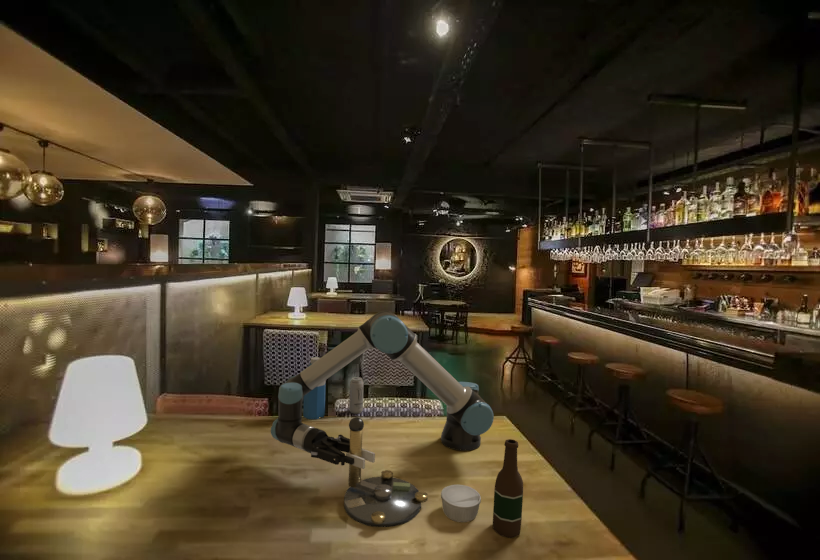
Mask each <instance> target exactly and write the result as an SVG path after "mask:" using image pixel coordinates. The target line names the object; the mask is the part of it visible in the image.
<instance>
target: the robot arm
mask: <svg viewBox="0 0 820 560" xmlns="http://www.w3.org/2000/svg"><path fill="white" fill-rule="evenodd" d="M370 349H372V350H373V349H377V350H379V351H380V352H382V353H384V354H385V355H386V356H387V357H388V358H389V359H390V360H392V361H399V362H400V363H401V364H402V365H403V366H404V367H406V368H407V370H409V371H410V372H411V373H412V374H413V375H414V376H415V377H416V378H418V380H419V381H420V382H422V384H423V385H424V386H426V388H427V389H429V390H430V391H431V392H432V394H434V395H435V396H436V397H437V398H438V399H439V400H440V401H442V403H444V404H445V405H446V421H445V424H444V426H443V428H442V432H441V435H440V441H441V442H440V443H441V444H442V445H443V446H445V447H447V448H448V449H451V450H455V451H464V452H465V451H466V452H467V451H472V450H476V449H478V448H479V447H481V442H482V441H481V440H482V437H481V435H484V434H485V433H487V431H489V430H490V429H491V428H492V426H493V423H494V417H495V416H494V415H495V414H494V411H493V409H492V407H491V406H490V404H488V402H486V401H485V400H484V399H483V398H482V397H481V395H479V392H480V388H479V384H477V383H475V382H471V381H470V382H468V381H459V380H456V378H454V377H453V375H452V374H451V373H450V372H448V371H447V370H446V369H445V368H444V367H443V366H442V364H441V363H439V362H438V361H437V360H436V359H435V357H433V356H432V355H431V354H430V353H429V352H428V351H427V350H426V349H425V348H424V347H422V346H421V344H419V343H418V341H417V335H416V333H414V332H413V330H411V329H410V328H409V327H408V326H407V325H406V323H404V322H403V320H402V319H400V317H399V316H398V315H397V314H395V313H394V312H392V311H390V310H381V311H379V312H376V313H374V314H373V315H372V316H371V317H370V318H368V319H367V320H366V321H365V322H363V323H362V324H360V326H358V327H357V331H355V332H354V333H353V334H352V335H350V336H349V337H347V338H346V339H345V340H343V341H342V342H341V343H339V344H338V345H337V346H335V347H334V348H332V349H331V350H330V351H328V352H327V353H325V354H323V356H321V357H319V358H320V359H319V360H317V361H316V362H314V363H313V364H312V365H310V364H309V365H310V366H309V365H308V366H309V367H308V366H307V367H306V368H305V369H303V370H301V372H299V373H298V374H297V375H293V376H291V377H290V378H288V379H287V380H286V381H285V383H282V384H281V385H279V388H278V395H277V398H278V416H277V418H276V419H275V420H273V422H272V425H271V427H270V434H271V437H272V438H273V439H274V440H276V441H279V443H282V444H286V445H289V446H292V447H294V448H297V449H300V450H302V451H304V452H306V453H308V454H310V457H311V458H313V459H314V458H315V459H319V460H322V461H325V462H328V463H329V464H330V463H331V464H333V465H339V464H340V466H345V464H347V465H349V464H351V465H354V466H356V467H359V468H361V470H364V469H365V468H366V461H368V462H370V463H372V464H373V463H375V462H376V461H375V459H376V453H375V452H374V451H371V450H368V449H366V448H362V458H361V457H358V456H356V455H353V454H350V453H349V451H350V437H349V438H348V437H346V436H344V435H343V434H338V437H334V436H329V435H328V434H327V431H325V430H322V429H321V428H318V427H315V426H311V425H308V424H305V423H303V422H302V419H303V417H302V416H303V402H304V396H305V395H306V394H307V393H309V392H310V391H311V390H313V389H314V388H315V387H317V386H318V385H319V384H321V383H322V382H324V381H325V380H326V381H327V379H329V378H331V377H332V376H333V375H335V374H336V373H338V372H339V371H340V370H341V369H343V368H344V367H346V366H347V365H348V364H350V363H351V362H352V361H354V360H355V359H357V358H359V356H361V355H362V354H364V353H365V352H366V351H368V350H370Z"/></svg>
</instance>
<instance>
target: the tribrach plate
mask: <svg viewBox="0 0 820 560" xmlns="http://www.w3.org/2000/svg"><path fill="white" fill-rule="evenodd" d="M362 480H363V481H366V482H369V483H372V484H375V485H382V484H385V485H389V486H390V487H391V488H392V497H391V498H390V499H389V500H386V501H380V500H377V499H376V498H375V497H374V493H371V492H368V491H365V490H362V489H359V488H357V487H350V486H349V487H348V488H347V489H346V491H345V493H344V495H343V496H344V501H343V502H344V503H343V507H344V511H345V513H346V514H347V515H348V516H349V517H350V518H351V519H352V520H353V521H355V522H357V523H359V524H361V525H365V526H367V527H368V526H369V527H373V528H374V527H375V528H392V527H397V526H401V525H404V524H406V523H408V522H410V521H412V520H413V519H414V518H416V516H418V515H419V513H420V511H421V508H422V504H423V503H426V502H427V501H428V497H429V494H428V493H427V492H424V491H420V490H419V489H418V487H416V486H415V485H413V483H411V482H409V481H406V480H404V479H402V478H397V477H394V472H393V471H392V470H389V469H385V470H382V471H381V476H374V477H373V476H372V477H369V478H368V477H367V478H364V479H362Z"/></svg>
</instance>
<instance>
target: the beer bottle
mask: <svg viewBox="0 0 820 560" xmlns="http://www.w3.org/2000/svg"><path fill="white" fill-rule="evenodd" d="M504 446H505V447H504V456H503V463H502V468H500V469H501V470H500V471H499V472H498V473H497V476H496V479H495V482H494V492H493V511H492V530H493V531H494V532H495V533H497V534H498V535H499V536H501V537H504V538H508V539H509V538H510V539H512V538H515V537H518V536H520V534H521V529H522V528H521V527H522V518H523V517H522V515H523V501H524V480H523V477H522V475H521V474H520V472H519V469H518V448H519V442H518V441H517V440H515V439H512V438H510V439H505V441H504Z"/></svg>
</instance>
